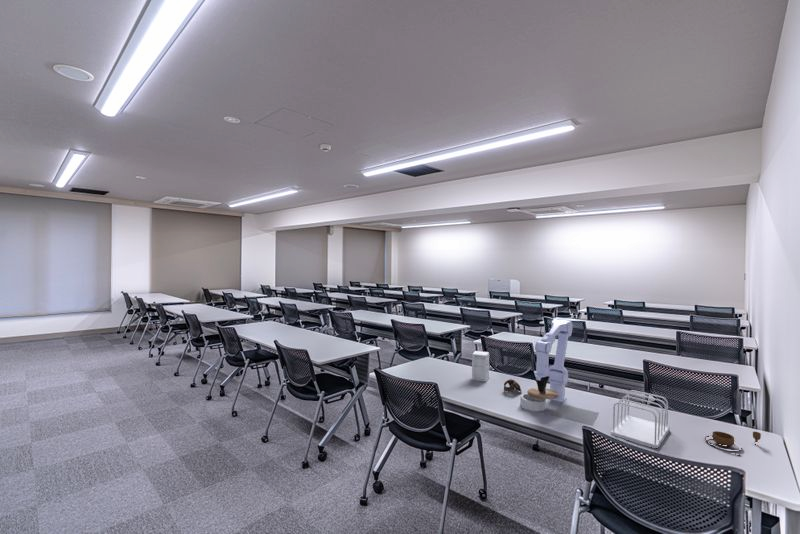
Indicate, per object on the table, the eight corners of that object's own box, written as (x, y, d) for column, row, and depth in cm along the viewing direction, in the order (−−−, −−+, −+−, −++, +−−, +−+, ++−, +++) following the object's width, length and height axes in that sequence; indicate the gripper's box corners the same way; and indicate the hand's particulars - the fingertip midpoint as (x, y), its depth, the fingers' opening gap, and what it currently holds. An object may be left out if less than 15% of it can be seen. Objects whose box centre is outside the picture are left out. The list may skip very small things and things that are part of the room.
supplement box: (489, 377, 240) (489, 352, 240) (486, 382, 232) (487, 355, 232) (474, 375, 244) (475, 350, 244) (471, 379, 236) (471, 353, 236)
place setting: (699, 434, 167) (700, 421, 167) (758, 445, 158) (759, 431, 158) (710, 451, 152) (711, 437, 152) (776, 465, 142) (777, 450, 142)
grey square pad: (561, 404, 197) (561, 404, 197) (599, 413, 187) (599, 412, 187) (552, 415, 183) (552, 415, 183) (592, 426, 172) (592, 425, 172)
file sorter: (626, 418, 181) (627, 387, 181) (669, 431, 169) (670, 397, 169) (610, 435, 164) (611, 400, 164) (657, 450, 151) (658, 412, 151)
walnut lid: (535, 387, 202) (534, 380, 202) (563, 393, 191) (562, 386, 191) (522, 394, 191) (522, 387, 191) (551, 401, 181) (550, 393, 181)
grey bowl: (525, 400, 202) (525, 391, 202) (547, 406, 195) (548, 397, 195) (517, 407, 192) (517, 398, 192) (541, 413, 185) (541, 404, 185)
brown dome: (524, 396, 210) (519, 384, 208) (509, 402, 212) (503, 391, 210) (519, 384, 222) (514, 373, 220) (504, 389, 223) (499, 378, 222)
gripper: (538, 360, 199) (538, 385, 200) (530, 366, 188) (529, 392, 188) (552, 362, 195) (551, 388, 196) (544, 368, 184) (544, 396, 184)
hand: (541, 390), depth 191 cm, fingers closed on walnut lid, 3 cm apart
